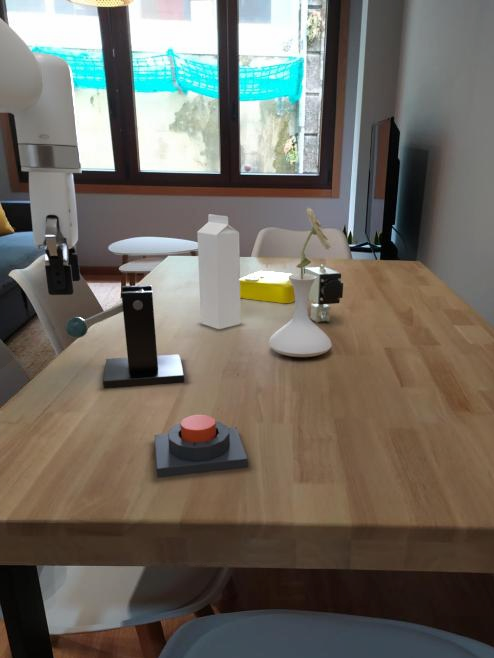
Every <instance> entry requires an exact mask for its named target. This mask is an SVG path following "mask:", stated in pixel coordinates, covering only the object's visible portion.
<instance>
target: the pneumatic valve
mask: <svg viewBox="0 0 494 658" xmlns="http://www.w3.org/2000/svg"><path fill="white" fill-rule="evenodd" d="M303 274H310V275H315V276H316V277H317V278H316V280H315V281H314V282H313V284H312V286H311V289H310V292H309V298H308V300H311V302H312V303H311V304H310V305H309V306H310V315H309V319H310V320H311V321H313V322H314V323H317V324H318V323H319V322H330V321H331V318H330V317H331V313H330V311H331V309H332V308H331V306H330V305H333V304H334V305H336V304H340V303H341V301H340V300H341V299H343V294H344V283H343V282H342V273H340V272H339V271H338V270H335V269H331V268H328V267H326V266H325V264H320V265H319V266H317V265H316V266H305V267H303ZM313 302H314V303H313Z"/></svg>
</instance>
